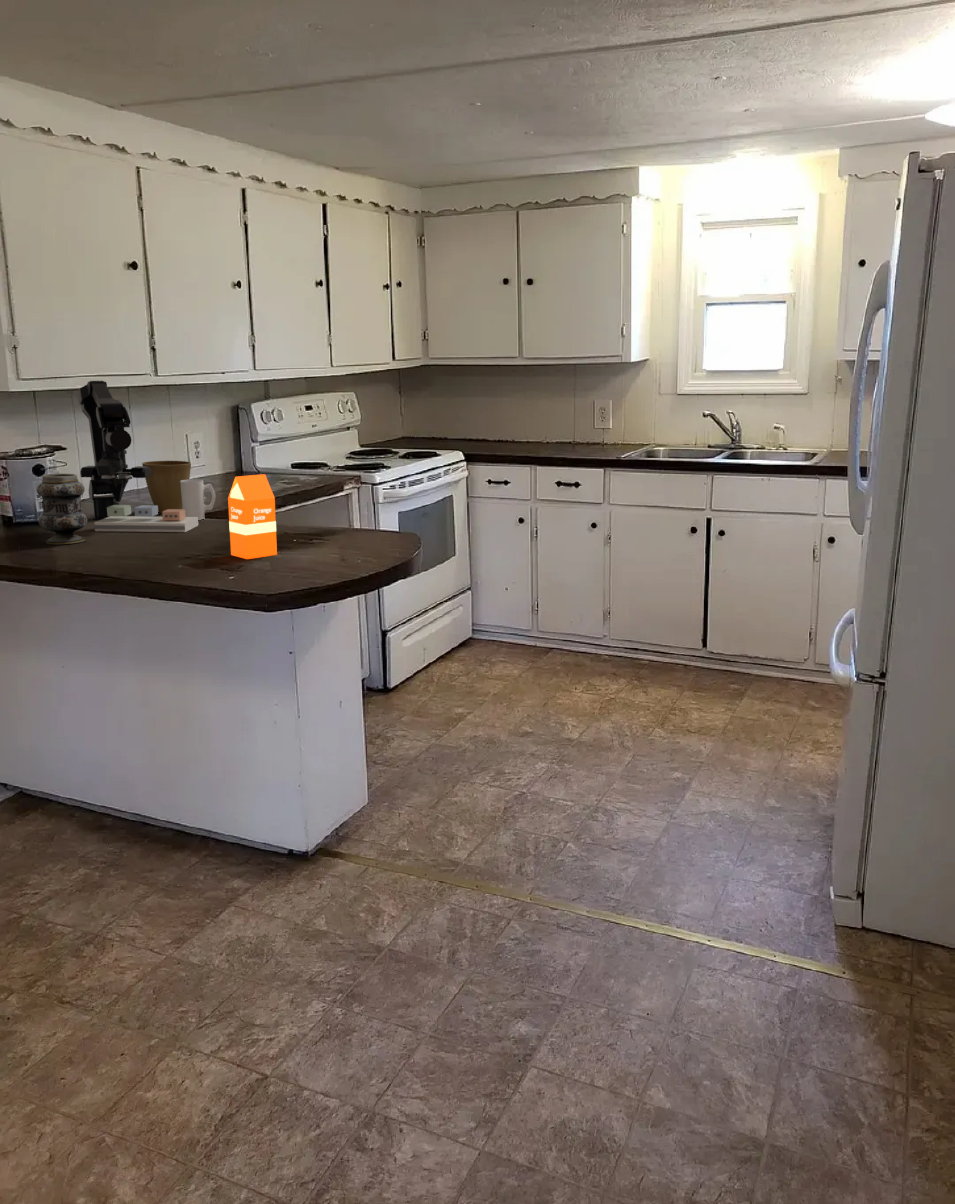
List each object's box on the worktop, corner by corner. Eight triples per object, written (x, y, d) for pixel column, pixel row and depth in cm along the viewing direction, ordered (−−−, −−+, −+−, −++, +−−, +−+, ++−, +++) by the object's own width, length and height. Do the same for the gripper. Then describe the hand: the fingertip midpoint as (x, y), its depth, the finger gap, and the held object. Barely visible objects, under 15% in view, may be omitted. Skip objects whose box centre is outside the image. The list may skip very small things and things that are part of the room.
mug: (182, 521, 297) (180, 482, 294) (182, 518, 303) (180, 479, 300) (217, 520, 300) (214, 481, 297) (216, 517, 306) (214, 478, 303)
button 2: (134, 516, 282) (134, 507, 281) (141, 513, 287) (140, 505, 286) (151, 516, 281) (151, 508, 281) (158, 513, 287) (157, 505, 286)
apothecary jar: (98, 539, 267) (93, 473, 263) (69, 546, 256) (63, 477, 252) (61, 536, 270) (54, 471, 266) (30, 544, 259) (23, 476, 255)
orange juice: (230, 554, 247) (226, 475, 242) (260, 550, 253) (257, 472, 248) (247, 559, 241) (243, 478, 237) (277, 554, 247) (274, 475, 243)
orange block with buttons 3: (162, 520, 282) (161, 511, 281) (168, 517, 287) (168, 509, 286) (179, 520, 281) (179, 512, 281) (185, 517, 287) (185, 509, 286)
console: (94, 531, 279) (93, 522, 279) (111, 524, 291) (111, 515, 291) (184, 532, 279) (184, 523, 278) (198, 525, 291) (197, 516, 290)
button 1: (107, 516, 282) (106, 507, 281) (114, 513, 287) (113, 505, 286) (124, 516, 282) (123, 507, 281) (131, 513, 287) (130, 505, 286)
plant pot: (156, 517, 305) (152, 465, 301) (138, 511, 316) (134, 461, 313) (201, 512, 314) (198, 462, 311) (182, 507, 326) (179, 459, 322)
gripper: (69, 449, 272) (74, 505, 276) (135, 450, 272) (140, 506, 276) (86, 446, 283) (91, 499, 287) (150, 446, 283) (154, 500, 286)
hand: (118, 501), depth 284 cm, fingers closed
